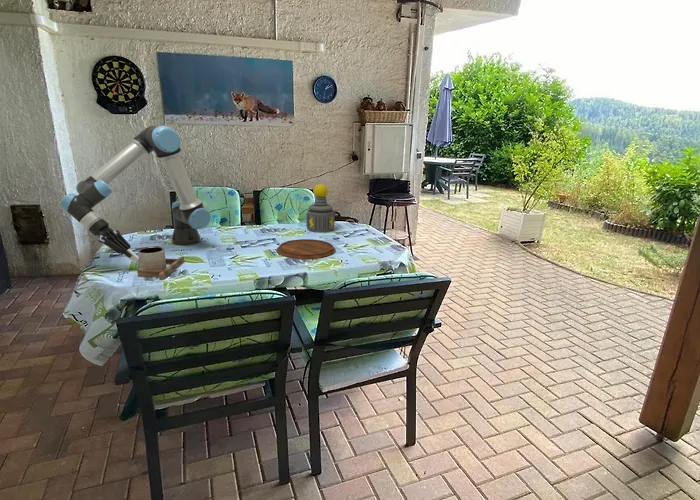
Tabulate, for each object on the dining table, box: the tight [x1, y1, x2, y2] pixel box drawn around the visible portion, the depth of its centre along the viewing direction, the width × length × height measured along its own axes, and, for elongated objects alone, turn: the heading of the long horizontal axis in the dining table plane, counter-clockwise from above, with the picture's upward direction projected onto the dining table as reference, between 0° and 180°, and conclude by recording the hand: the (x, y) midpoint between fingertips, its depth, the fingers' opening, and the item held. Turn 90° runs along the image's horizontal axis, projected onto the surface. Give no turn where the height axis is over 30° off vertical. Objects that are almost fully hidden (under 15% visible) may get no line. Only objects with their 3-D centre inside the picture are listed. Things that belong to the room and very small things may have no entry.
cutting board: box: [276, 238, 336, 260], centre depth 219 cm, size 32×32×2 cm
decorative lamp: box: [305, 183, 336, 233], centre depth 260 cm, size 19×19×30 cm
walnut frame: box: [136, 256, 185, 281], centre depth 181 cm, size 24×12×2 cm, turn 1°
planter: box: [137, 246, 167, 271], centre depth 180 cm, size 11×11×10 cm
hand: (138, 261), depth 180 cm, fingers closed
